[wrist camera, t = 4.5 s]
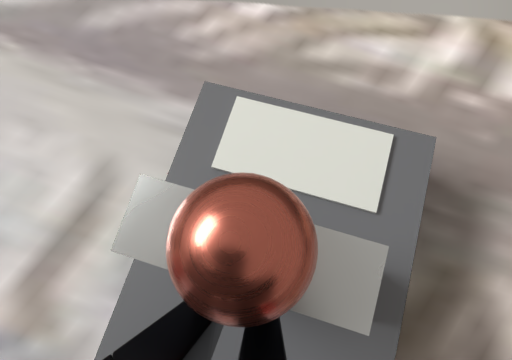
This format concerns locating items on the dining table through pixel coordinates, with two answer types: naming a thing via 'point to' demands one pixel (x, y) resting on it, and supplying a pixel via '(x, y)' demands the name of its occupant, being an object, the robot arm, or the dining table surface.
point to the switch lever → (251, 252)
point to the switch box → (314, 199)
